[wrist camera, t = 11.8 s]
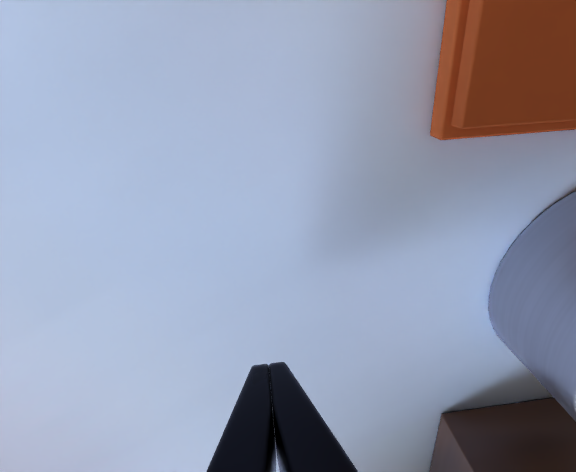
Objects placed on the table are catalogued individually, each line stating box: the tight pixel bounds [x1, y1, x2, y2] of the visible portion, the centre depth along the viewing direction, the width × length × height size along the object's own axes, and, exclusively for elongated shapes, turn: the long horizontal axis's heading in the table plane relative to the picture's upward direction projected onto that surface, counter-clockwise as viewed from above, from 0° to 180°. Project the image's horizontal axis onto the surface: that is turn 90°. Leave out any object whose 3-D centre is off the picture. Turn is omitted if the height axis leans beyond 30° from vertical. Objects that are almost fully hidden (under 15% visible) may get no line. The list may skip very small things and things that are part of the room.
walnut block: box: [429, 398, 576, 472], centre depth 15 cm, size 4×8×3 cm, turn 93°
